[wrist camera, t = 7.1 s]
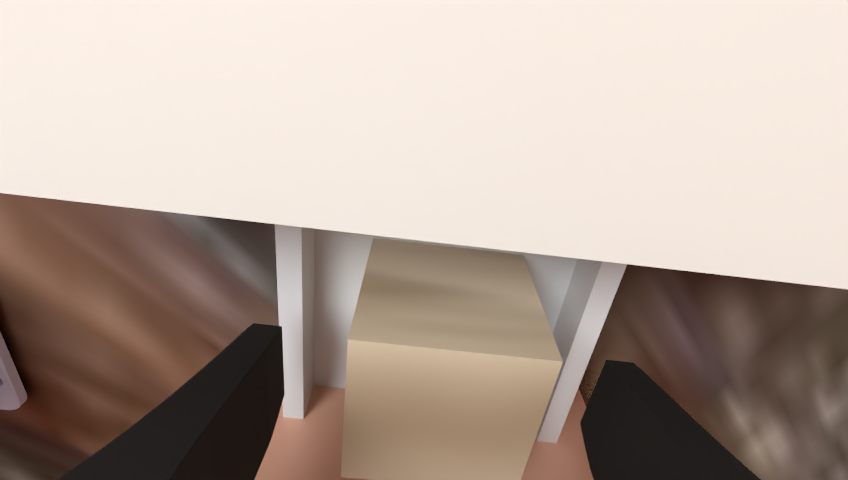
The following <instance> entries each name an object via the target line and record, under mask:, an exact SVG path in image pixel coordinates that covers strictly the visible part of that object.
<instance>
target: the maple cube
mask: <svg viewBox="0 0 848 480" xmlns="http://www.w3.org/2000/svg"><path fill="white" fill-rule="evenodd" d="M562 363H563V360H562V358H561V355H560V352H559V350H558V347H557V344H556V342H555V339H554V336H553V334H552V331H551V328H550V326H549V323H548V320H547V318H546V315H545V312H544V310H543V307H542V304H541V302H540V299H539V296H538V294H537V291H536V288H535V286H534V283H533V280H532V278H531V275H530V272H529V270H528V267H527V264H526V262H525V259H524V256H523V255H521V254H512V253H503V252H494V251H485V250H477V249H468V248H459V247H450V246H441V245H432V244H424V243H415V242H406V241H397V240H388V239H379V238H373V241H372V245H371V249H370V253H369V257H368V261H367V265H366V269H365V273H364V277H363V281H362V285H361V289H360V293H359V297H358V301H357V305H356V309H355V312H354V316H353V320H352V324H351V328H350V332H349V336H348V343H347V363H346V383H345V403H344V422H343V442H342V462H341V477H345V478H357V479H368V480H521V477H522V475H523V472H524V469H525V466H526V463H527V461H528V458H529V455H530V452H531V450H532V447H533V444H534V441H535V438H536V436H537V433H538V430H539V427H540V424H541V422H542V419H543V416H544V413H545V410H546V408H547V405H548V402H549V399H550V397H551V394H552V391H553V388H554V385H555V383H556V380H557V377H558V374H559V371H560V369H561V366H562Z"/></svg>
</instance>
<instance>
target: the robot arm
mask: <svg viewBox="0 0 848 480" xmlns="http://www.w3.org/2000/svg"><path fill="white" fill-rule="evenodd" d="M283 398H284V368H283V342H282V326H273V325H263V324H252V325H251V326H249V327H248V328H247V329H246V330H245V331H244V332H243V333H241V334H240V335H239V336H238V337H237V338H236V339H235V340H234V341H233V342H232V343H230V344H229V345H228V346H227V347H226V348H225V349H224V350H223V351H222V352H221V353H219V354H218V355H217V356H216V357H215V358H214V359H213V360H212V361H210V362H209V363H208V364H207V365H206V366H205V367H204V368H203V369H201V370H200V371H199V372H198V373H197V374H196V375H194V376H193V377H192V378H191V379H190V380H188V381H187V382H186V383H185V384H184V385H183V386H181V387H180V388H179V389H178V390H177V391H176V392H174V393H173V394H172V395H171V396H170V397H168V398H167V399H166V400H165V401H163V402H162V403H161V404H160V405H158V406H157V407H156V408H154V409H153V410H152V411H151V412H149V413H148V414H147V415H146V416H144V417H143V418H142V419H140V420H139V421H138V422H137V423H135V424H134V425H133V426H131V427H130V428H129V429H128V430H126V431H125V432H124V433H122V434H121V435H120V436H118V437H117V438H116V439H114V440H113V441H112V442H110V443H109V444H107V445H106V446H105V447H103V448H102V449H101V450H99V451H98V452H96V453H95V454H94V455H92V456H91V457H89V458H88V459H87V460H85V461H84V462H82V463H81V464H79V465H78V466H76V467H75V468H73V469H72V470H70V471H69V472H68V473H66V474H65V475H63V476H62V477H60V478H59V479H57V480H255V477H256V475H257V472H258V470H259V468H260V465H261V463H262V460H263V458H264V456H265V453H266V451H267V448H268V446H269V444H270V441H271V438H272V435H273V432H274V428H275V425H276V422H277V419H278V415H279V412H280V408H281V405H282V401H283ZM26 400H27V393H26V391H25V389H24V386H23V384H22V382H21V379H20V377H19V375H18V372H17V370H16V367H15V365H14V363H13V360H12V358H11V356H10V353H9V351H8V349H7V346H6V344H5V341H4V339H3V337H2V334H1V332H0V409H2V410H15V409H18V408H19V407H20V406H21V405H22V404H23V403H24V402H25V401H26ZM580 425H581V430H582V435H583V440H584V445H585V449H586V454H587V458H588V462H589V466H590V470H591V473H592V476H593V479H594V480H760V479H759V478H758V477H757V476H756V475H755V474H753V473H752V472H751V471H750V470H749V469H748V468H746V467H745V466H744V465H743V464H742V463H741V462H740V461H739V460H738V459H736V458H735V457H734V456H733V455H732V454H731V453H730V452H729V451H728V450H726V449H725V448H724V447H723V446H722V445H721V444H720V443H719V442H718V441H717V440H716V439H714V438H713V437H712V436H711V435H710V434H709V433H708V432H707V431H706V430H705V429H704V428H703V427H702V426H700V425H699V424H698V423H697V422H696V421H695V420H694V419H693V418H692V417H691V416H690V415H689V414H688V413H687V412H686V411H685V410H684V409H682V408H681V407H680V406H679V405H678V404H677V403H676V402H675V401H674V400H673V399H672V398H671V397H670V396H669V395H668V394H667V393H666V392H665V391H664V390H662V389H661V388H660V387H659V386H658V385H657V384H656V383H655V382H654V381H653V380H652V379H651V378H650V377H649V376H647V375H646V374H645V373H644V372H643V371H642V370H641V369H640V368H638V367H637V366H636V365H635V364H634V363H630V362H621V361H611V360H606V362H605V365H604V367H603V369H602V372H601V374H600V377H599V379H598V381H597V384H596V386H595V388H594V391H593V393H592V396H591V398H590V400H589V403H588V405H587V407H586V410H585V412H584V415H583V417H582V419H581V422H580Z"/></svg>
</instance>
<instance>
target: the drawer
mask: <svg viewBox="0 0 848 480" xmlns="http://www.w3.org/2000/svg"><path fill="white" fill-rule="evenodd" d="M373 238H379V239H388V240H397V241H406V242H415V243H424V244H432V245H441V246H450V247H459V248H468V249H477V250H485V251H494V252H503V253H512V254H521V255H523V256H524V259H525V262H526V264H527V267H528V270H529V272H530V275H531V278H532V280H533V283H534V286H535V288H536V291H537V294H538V296H539V299H540V302H541V304H542V307H543V310H544V312H545V315H546V318H547V320H548V323H549V326H550V328H551V331H552V334H553V336H554V339H555V342H556V344H557V347H558V350H559V352H560V355H561V358H562V360H563V363H562V366H561V369H560V371H559V374H558V377H557V380H556V383H555V385H554V388H553V391H552V394H551V397H550V399H549V402H548V405H547V408H546V410H545V413H544V416H543V419H542V422H541V424H540V427H539V430H538V433H537V436H536V438H535V441H534V444H533V447H532V450H531V452H530V455H529V458H528V461H527V463H526V466H525V469H524V472H523V475H522V477H521V480H594V479H593V476H592V473H591V470H590V466H589V462H588V458H587V454H586V449H585V445H584V440H583V435H582V430H581V425H580V422H581V419H582V417H583V415H584V412H585V410H586V405H585V403H584V400H583V398H582V395H581V393H580V390H579V389H578V388H579V385H580V383H581V380H582V377H583V375H584V372H585V370H586V367H587V365H588V362H589V360H590V357H591V355H592V352H593V350H594V347H595V345H596V342H597V340H598V337H599V335H600V332H601V329H602V327H603V324H604V322H605V319H606V317H607V314H608V312H609V309H610V307H611V304H612V302H613V299H614V297H615V294H616V292H617V289H618V286H619V284H620V281H621V279H622V276H623V274H624V271H625V269H626V266H627V264H621V263H612V262H604V261H595V260H586V259H577V258H568V257H560V256H551V255H542V254H533V253H524V252H516V251H507V250H498V249H489V248H481V247H472V246H463V245H454V244H445V243H437V242H428V241H419V240H410V239H402V238H393V237H384V236H375V235H366V234H358V233H349V232H340V231H331V230H322V229H314V228H305V227H296V226H287V225H279V224H275V241H276V264H277V288H278V312H279V326H282V342H283V368H284V398H283V401H282V405H281V408H280V412H279V415H278V419H277V422H276V425H275V428H274V432H273V435H272V438H271V441H270V444H269V446H268V448H267V451H266V453H265V456H264V458H263V460H262V463H261V465H260V468H259V470H258V472H257V475H256V477H255V480H368V479H357V478H345V477H341V462H342V442H343V422H344V403H345V383H346V363H347V343H348V336H349V332H350V328H351V324H352V320H353V316H354V312H355V309H356V305H357V301H358V297H359V293H360V289H361V285H362V281H363V277H364V273H365V269H366V265H367V261H368V257H369V253H370V249H371V245H372V241H373Z"/></svg>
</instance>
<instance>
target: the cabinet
mask: <svg viewBox="0 0 848 480" xmlns="http://www.w3.org/2000/svg"><path fill="white" fill-rule="evenodd" d="M0 193H6V194H15V195H24V196H33V197H41V198H50V199H59V200H68V201H77V202H85V203H94V204H103V205H112V206H120V207H129V208H138V209H147V210H156V211H164V212H173V213H182V214H191V215H200V216H208V217H217V218H226V219H235V220H243V221H252V222H261V223H270V224H279V225H287V226H296V227H305V228H314V229H322V230H331V231H340V232H349V233H358V234H366V235H375V236H384V237H393V238H402V239H410V240H419V241H428V242H437V243H445V244H454V245H463V246H472V247H481V248H489V249H498V250H507V251H516V252H524V253H533V254H542V255H551V256H560V257H568V258H577V259H586V260H595V261H604V262H612V263H621V264H630V265H639V266H647V267H656V268H665V269H674V270H683V271H691V272H700V273H709V274H718V275H726V276H735V277H744V278H753V279H762V280H770V281H779V282H788V283H797V284H806V285H814V286H823V287H832V288H841V289H848V0H0Z"/></svg>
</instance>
